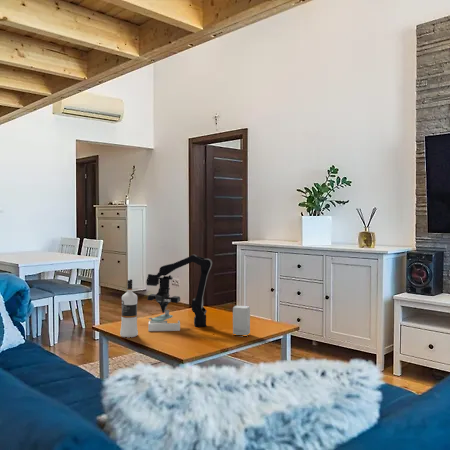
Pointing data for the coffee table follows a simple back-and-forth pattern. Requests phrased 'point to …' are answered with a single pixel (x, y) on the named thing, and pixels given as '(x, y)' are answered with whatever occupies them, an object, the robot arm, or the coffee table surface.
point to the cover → (162, 317)
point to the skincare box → (241, 320)
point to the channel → (163, 326)
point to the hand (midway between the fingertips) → (163, 312)
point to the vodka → (129, 313)
